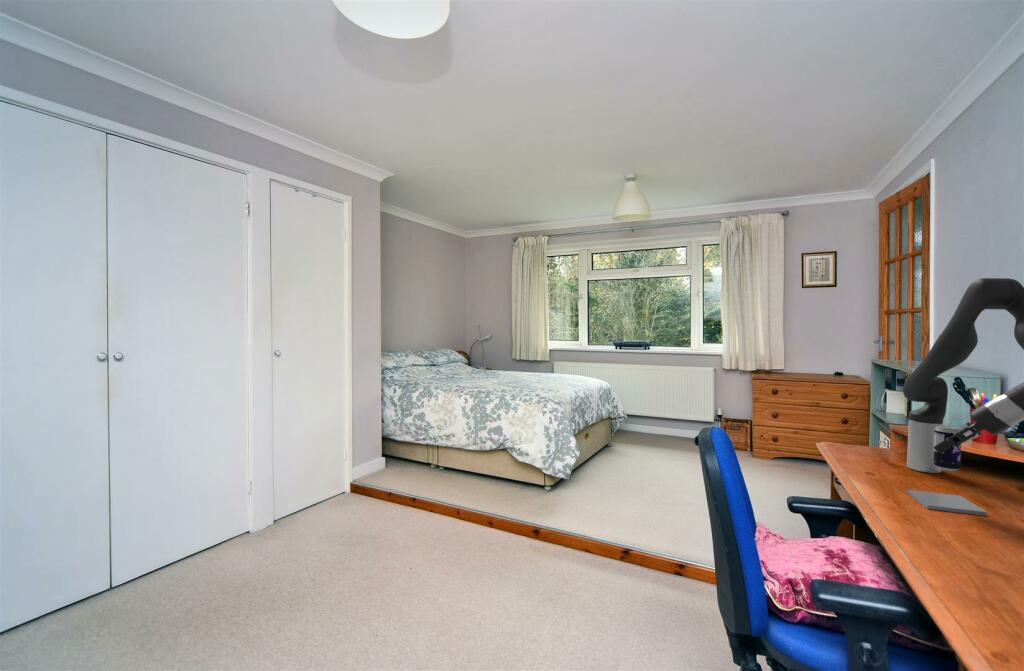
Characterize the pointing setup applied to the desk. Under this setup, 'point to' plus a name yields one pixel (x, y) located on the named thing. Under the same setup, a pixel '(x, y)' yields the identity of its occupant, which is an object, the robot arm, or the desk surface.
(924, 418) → the robot arm
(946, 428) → the beverage can
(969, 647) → the desk surface
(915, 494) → the slate tile
